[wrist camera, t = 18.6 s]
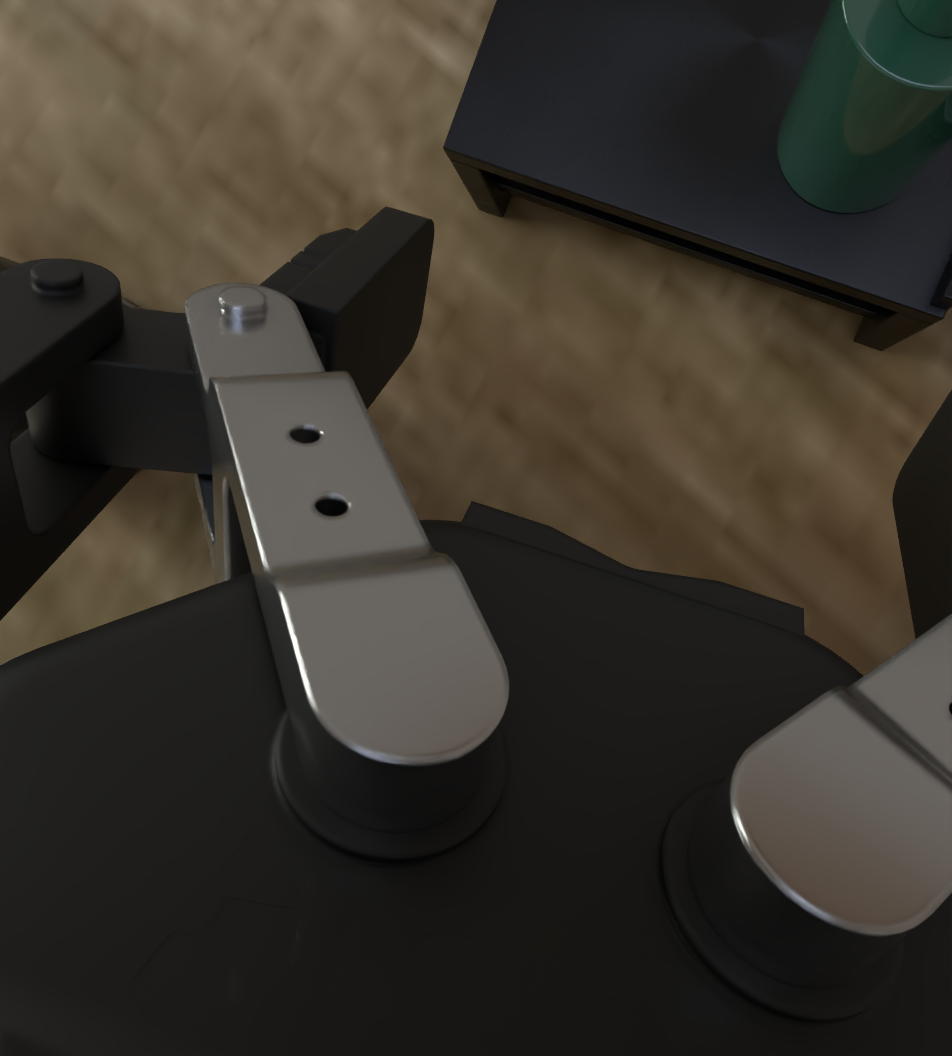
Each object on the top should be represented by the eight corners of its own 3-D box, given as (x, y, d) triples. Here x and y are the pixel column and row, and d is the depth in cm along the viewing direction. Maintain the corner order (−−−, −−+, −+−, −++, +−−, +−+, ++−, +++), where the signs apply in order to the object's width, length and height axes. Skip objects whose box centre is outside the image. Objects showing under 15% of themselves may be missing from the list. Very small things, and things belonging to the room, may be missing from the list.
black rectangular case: (477, 209, 37) (434, 134, 29) (590, -91, 35) (576, -259, 27) (881, 351, 34) (957, 312, 26) (1022, 33, 33) (1149, -113, 25)
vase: (753, 187, 28) (832, -8, 17) (812, 45, 28) (934, -255, 16) (894, 233, 27) (1075, 62, 16) (958, 88, 27) (1192, -194, 16)
